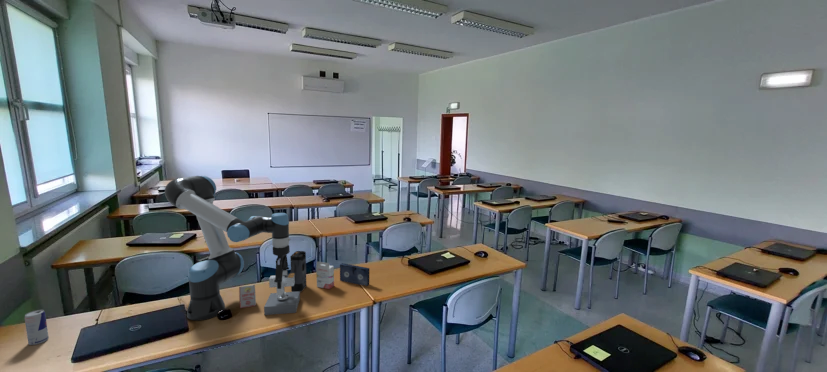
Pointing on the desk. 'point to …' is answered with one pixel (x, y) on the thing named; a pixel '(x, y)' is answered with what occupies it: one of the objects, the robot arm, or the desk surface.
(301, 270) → the electronic device
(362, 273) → the vhs cassette tape
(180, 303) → the desk surface
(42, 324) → the energy drink
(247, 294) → the white red carton
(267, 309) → the grey flat square block
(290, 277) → the t key
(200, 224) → the robot arm
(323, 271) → the ink cartridge box
